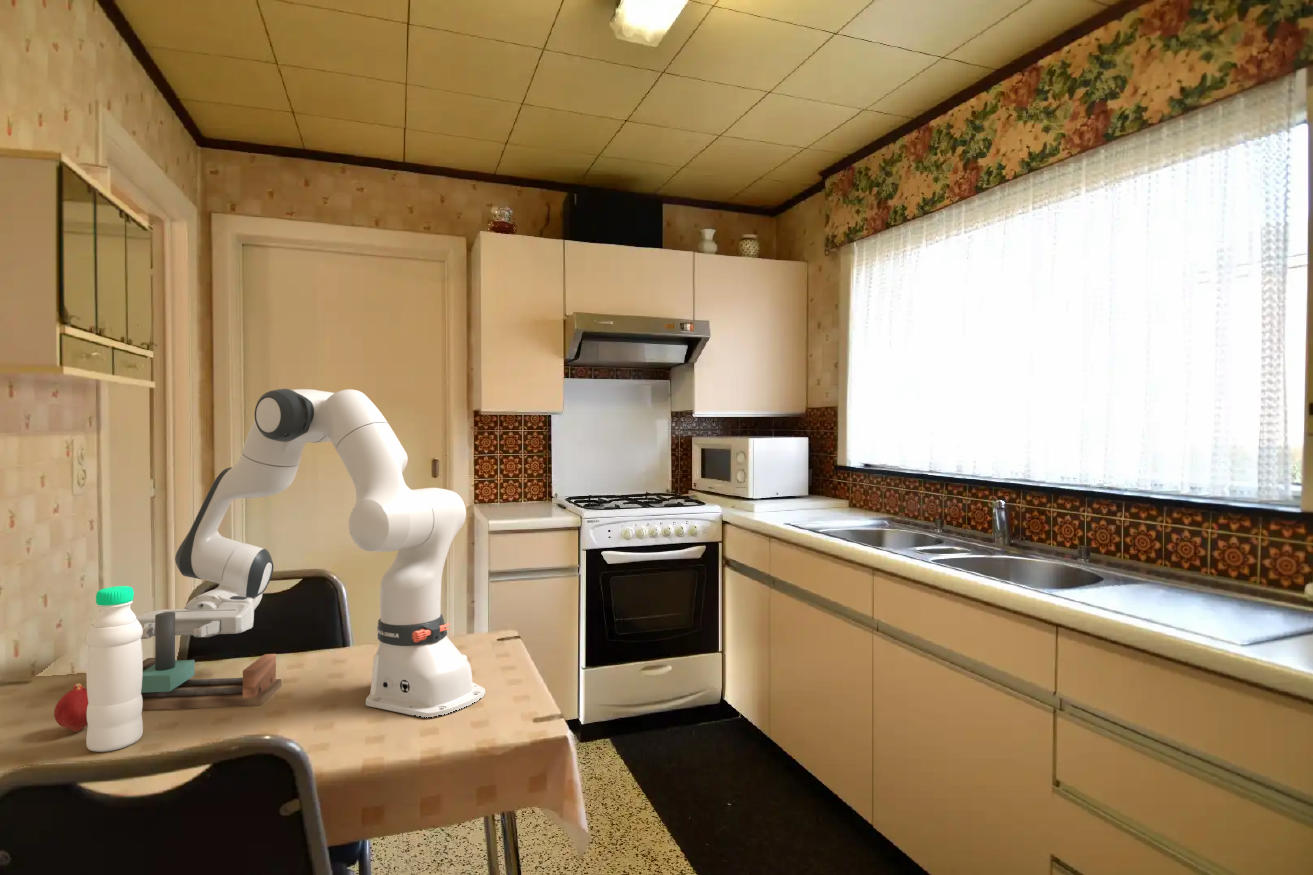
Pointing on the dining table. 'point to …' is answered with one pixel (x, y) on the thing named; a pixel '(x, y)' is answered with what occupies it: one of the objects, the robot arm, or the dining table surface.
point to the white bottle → (114, 673)
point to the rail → (218, 689)
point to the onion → (73, 709)
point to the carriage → (166, 659)
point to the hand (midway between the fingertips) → (170, 633)
